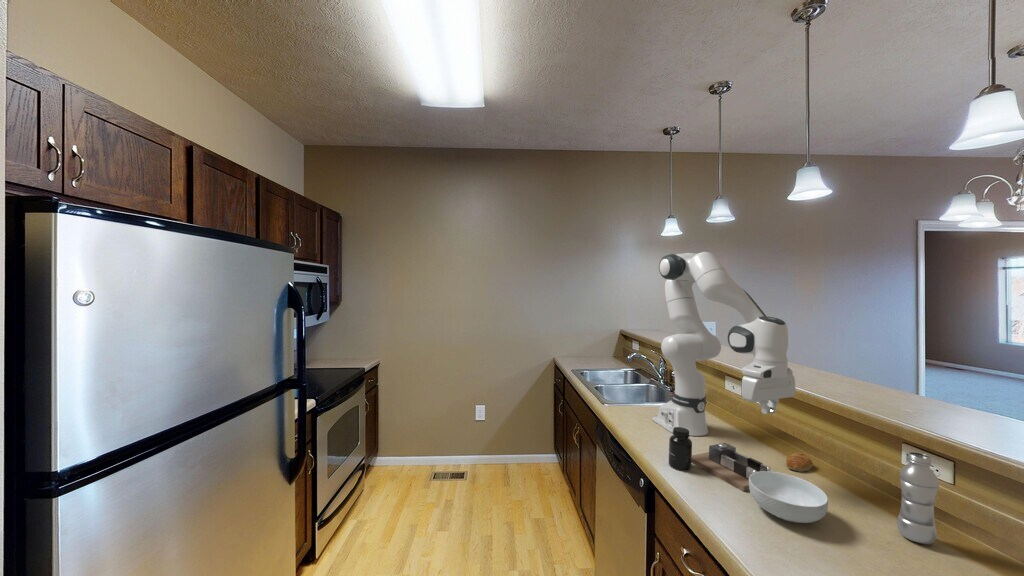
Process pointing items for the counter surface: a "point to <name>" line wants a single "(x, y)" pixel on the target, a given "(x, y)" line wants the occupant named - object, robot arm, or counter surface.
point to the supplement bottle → (680, 449)
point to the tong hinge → (721, 452)
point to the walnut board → (720, 471)
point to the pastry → (799, 462)
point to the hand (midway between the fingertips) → (768, 413)
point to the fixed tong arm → (737, 466)
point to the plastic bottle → (918, 499)
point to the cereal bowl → (788, 496)
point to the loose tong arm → (751, 462)
